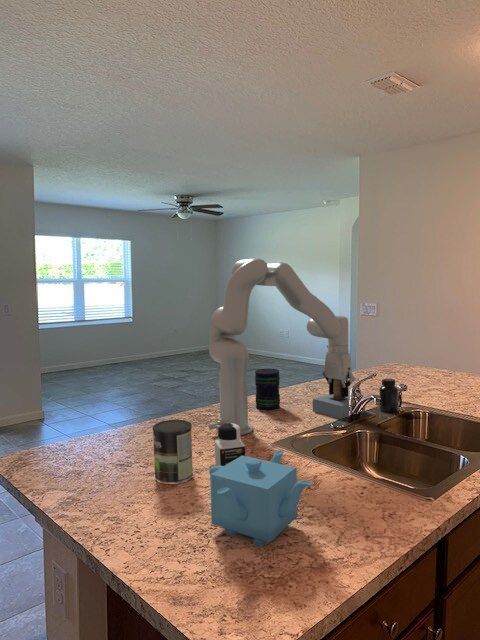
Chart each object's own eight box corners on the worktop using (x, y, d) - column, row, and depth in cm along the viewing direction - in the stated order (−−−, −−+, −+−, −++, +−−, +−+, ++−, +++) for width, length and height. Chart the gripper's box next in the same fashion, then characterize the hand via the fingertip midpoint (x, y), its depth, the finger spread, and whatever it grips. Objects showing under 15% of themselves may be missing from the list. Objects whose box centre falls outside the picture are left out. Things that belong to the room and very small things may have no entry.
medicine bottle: (220, 473, 127) (219, 430, 126) (214, 463, 134) (213, 422, 133) (246, 470, 129) (244, 427, 128) (239, 460, 136) (238, 420, 135)
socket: (341, 419, 171) (341, 406, 171) (312, 411, 182) (312, 398, 182) (365, 411, 180) (365, 398, 179) (336, 404, 191) (336, 392, 190)
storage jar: (284, 409, 186) (283, 372, 185) (261, 412, 183) (261, 374, 181) (273, 403, 196) (272, 367, 194) (251, 406, 192) (250, 370, 191)
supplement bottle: (395, 407, 184) (396, 377, 183) (400, 413, 177) (400, 381, 176) (377, 407, 185) (377, 377, 183) (381, 413, 178) (381, 381, 177)
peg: (339, 411, 178) (339, 380, 177) (331, 408, 181) (331, 378, 180) (346, 409, 180) (346, 378, 179) (338, 406, 184) (338, 376, 182)
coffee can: (158, 488, 119) (156, 434, 118) (151, 472, 129) (149, 422, 128) (198, 480, 123) (196, 428, 122) (188, 466, 133) (186, 417, 131)
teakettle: (206, 513, 106) (204, 450, 105) (286, 502, 110) (284, 441, 109) (220, 562, 88) (217, 486, 86) (315, 547, 92) (314, 475, 90)
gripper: (314, 347, 183) (315, 393, 185) (350, 352, 170) (350, 401, 171) (327, 345, 188) (328, 390, 189) (363, 350, 174) (363, 398, 176)
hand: (338, 395), depth 180 cm, fingers open, 5 cm apart
